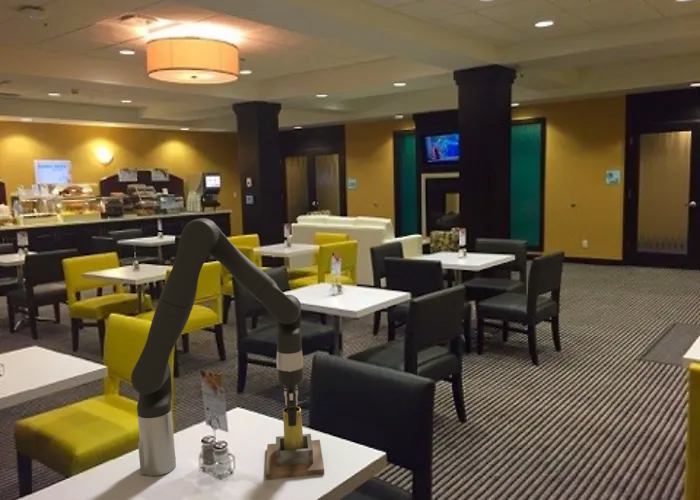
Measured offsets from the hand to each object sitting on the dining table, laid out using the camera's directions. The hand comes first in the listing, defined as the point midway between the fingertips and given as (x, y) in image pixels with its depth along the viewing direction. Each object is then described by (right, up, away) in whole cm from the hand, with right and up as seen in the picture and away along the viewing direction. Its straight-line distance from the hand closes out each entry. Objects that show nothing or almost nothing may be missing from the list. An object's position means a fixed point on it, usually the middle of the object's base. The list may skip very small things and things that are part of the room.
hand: (292, 419), depth 170 cm
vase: (0, -11, +2) cm, 12 cm away
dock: (+1, -13, +2) cm, 13 cm away
